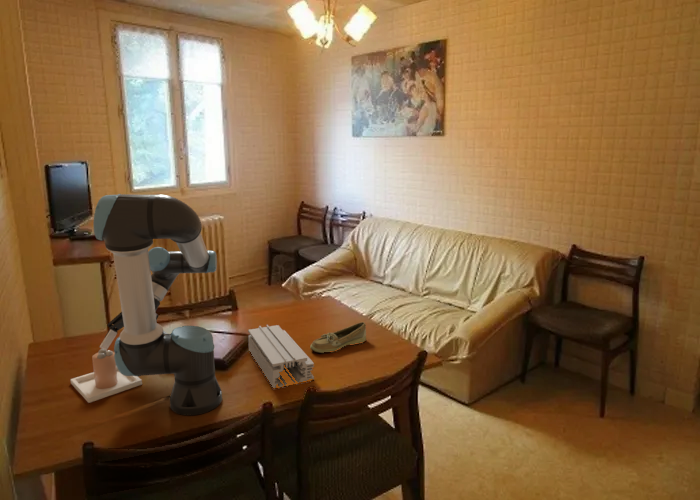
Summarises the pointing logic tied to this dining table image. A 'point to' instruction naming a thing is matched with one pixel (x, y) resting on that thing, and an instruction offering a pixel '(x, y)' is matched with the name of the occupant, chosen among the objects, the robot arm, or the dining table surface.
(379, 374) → the dining table surface
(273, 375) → the aluminum extrusion profile
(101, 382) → the pebble cup
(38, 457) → the dining table surface
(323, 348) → the boat shoe
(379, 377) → the dining table surface
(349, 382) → the dining table surface
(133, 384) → the tray
